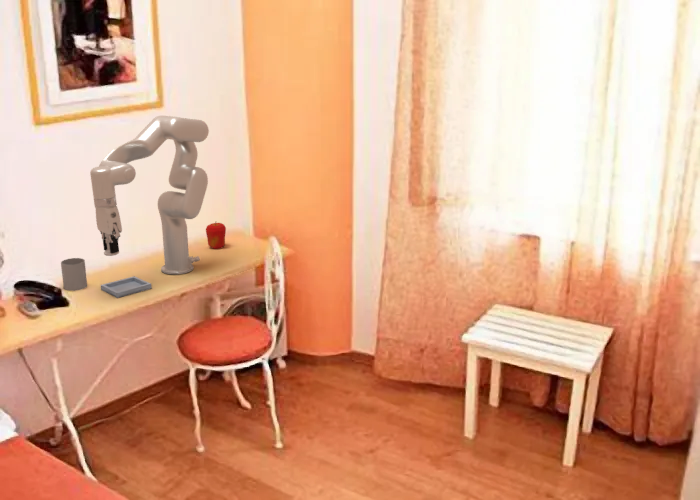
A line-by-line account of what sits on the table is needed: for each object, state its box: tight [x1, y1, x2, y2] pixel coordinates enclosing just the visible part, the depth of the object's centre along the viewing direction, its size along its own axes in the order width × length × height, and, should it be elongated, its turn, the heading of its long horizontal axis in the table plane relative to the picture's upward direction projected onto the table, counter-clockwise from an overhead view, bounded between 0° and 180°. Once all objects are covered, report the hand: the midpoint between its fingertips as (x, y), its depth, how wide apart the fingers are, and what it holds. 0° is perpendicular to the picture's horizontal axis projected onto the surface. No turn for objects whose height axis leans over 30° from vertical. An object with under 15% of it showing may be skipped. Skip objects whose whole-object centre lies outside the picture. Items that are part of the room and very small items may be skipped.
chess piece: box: [103, 232, 120, 257], centre depth 291 cm, size 5×5×9 cm
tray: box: [100, 276, 153, 299], centre depth 300 cm, size 14×12×2 cm
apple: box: [205, 221, 227, 250], centre depth 349 cm, size 9×8×12 cm
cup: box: [60, 257, 88, 292], centre depth 302 cm, size 8×8×10 cm
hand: (111, 250), depth 292 cm, fingers closed on chess piece, 3 cm apart
